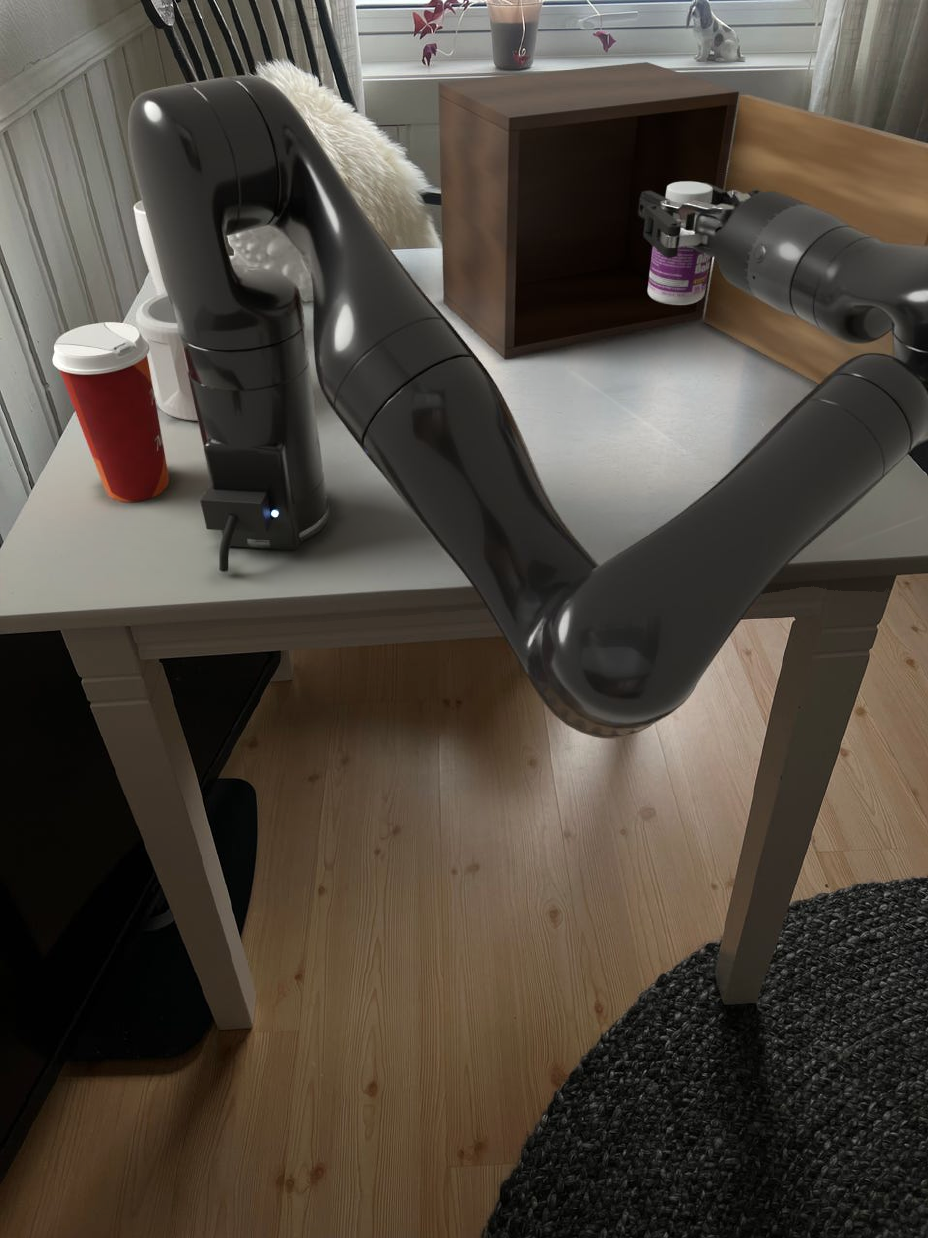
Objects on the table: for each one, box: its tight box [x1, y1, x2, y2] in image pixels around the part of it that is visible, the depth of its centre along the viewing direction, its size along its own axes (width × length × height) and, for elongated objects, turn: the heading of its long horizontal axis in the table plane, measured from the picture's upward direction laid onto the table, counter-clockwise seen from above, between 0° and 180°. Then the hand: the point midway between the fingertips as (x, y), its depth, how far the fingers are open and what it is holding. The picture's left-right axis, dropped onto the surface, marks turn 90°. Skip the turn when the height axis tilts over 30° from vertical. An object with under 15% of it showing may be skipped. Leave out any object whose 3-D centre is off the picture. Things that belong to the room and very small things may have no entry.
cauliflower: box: [226, 225, 313, 303], centre depth 118 cm, size 19×20×20 cm
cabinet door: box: [703, 93, 928, 385], centre depth 96 cm, size 7×26×24 cm, turn 28°
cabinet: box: [437, 61, 740, 360], centre depth 107 cm, size 18×26×24 cm
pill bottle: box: [648, 181, 713, 305], centre depth 85 cm, size 5×5×10 cm
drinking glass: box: [133, 199, 167, 296], centre depth 105 cm, size 7×7×15 cm
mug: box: [135, 292, 198, 422], centre depth 96 cm, size 14×11×10 cm
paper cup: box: [52, 321, 170, 503], centre depth 81 cm, size 8×8×14 cm
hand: (672, 198), depth 85 cm, fingers closed on pill bottle, 5 cm apart
